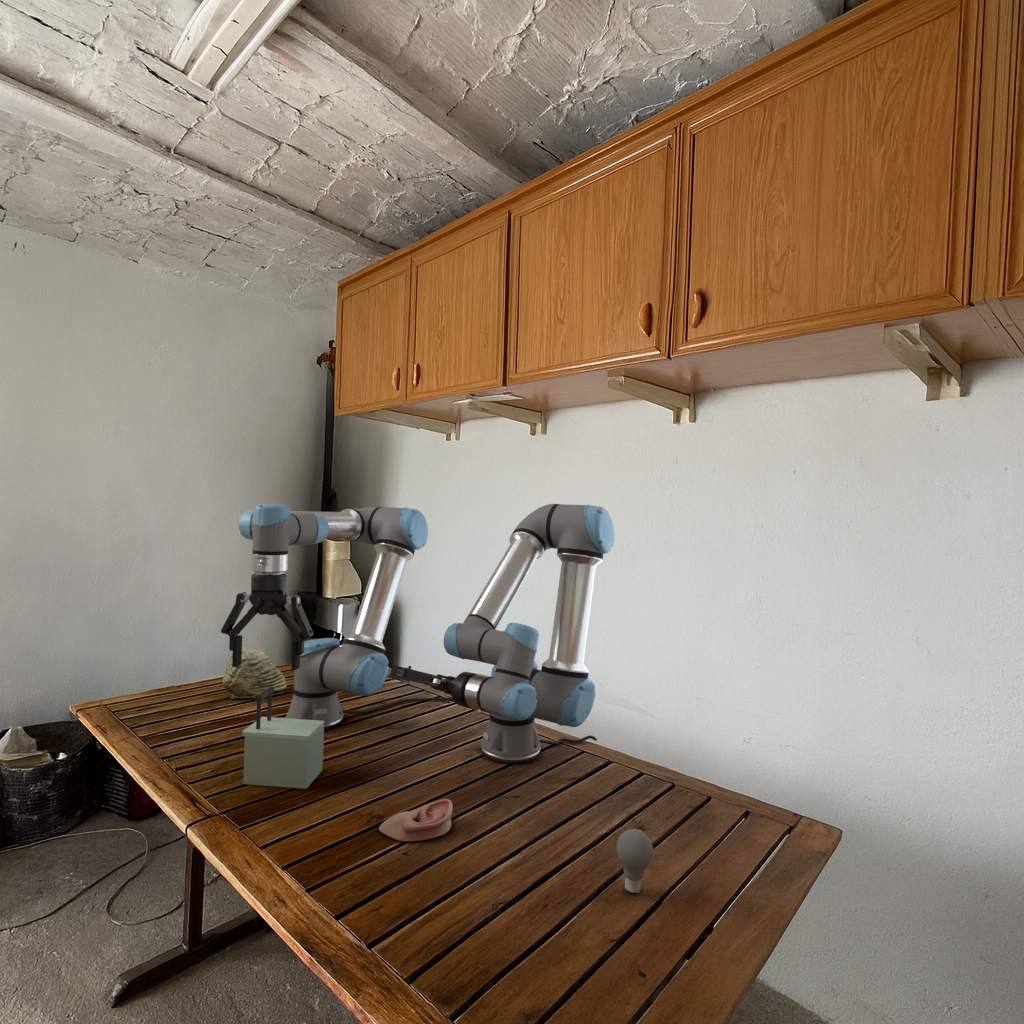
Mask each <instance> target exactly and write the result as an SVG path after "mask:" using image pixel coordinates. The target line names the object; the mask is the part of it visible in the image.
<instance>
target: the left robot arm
mask: <svg viewBox="0 0 1024 1024" xmlns="http://www.w3.org/2000/svg"><path fill="white" fill-rule="evenodd" d="M238 530H239V533H240V535H241V536H242V537H243V538H245V539H246V540H250V541H252V554H251V557H252V558H251V571H252V572H253V573H252V574H251V575H250V576H251V577H250V580H251V581H250V590H251V592H250V593H247V592H246V591H242V592H240V593H239V592H238V593H237V594H236V597H235V603H234V605H233V607H232V609H231V610H230V612H229V614H228V616H227V618H226V620H225V622H224V624H223V626H222V627H221V629H220V633H221V634H223V635H228V638H229V644H228V649H229V651H230V652H232V653H233V656H232V667H236V666H238V665H240V664H241V660H242V647H243V635H242V634H241V632H242V631H243V630H244V629H245V628H246V626H247V625H248V624H249V623H250V622H251V621H252V620H253V619H254V618H255V617H256V615H257V614H259V615H263V616H264V615H267V616H275V615H276V617H278V618H279V619H280V620H281V622H282V623H283V624H284V625H285V627H286V628H287V629H288V631H289V632H290V633H291V635H292V636H293V637H294V640H292V644H291V645H292V647H291V669H290V670H291V671H292V672H293V695H292V696H293V697H292V699H291V702H290V704H289V708H288V711H287V713H286V715H285V718H289V719H304V720H319V721H324V732H325V731H329V730H332V729H335V728H337V727H339V726H340V725H342V723H343V722H344V714H366V713H371V712H375V711H378V710H380V709H383V708H384V709H385V708H388V707H390V706H393V705H397V704H400V703H401V704H402V703H407V702H427V701H429V702H430V701H454V700H453V698H452V696H450V697H413V698H403V699H398V700H394V701H391V702H388V703H385V704H384V703H383V704H380V705H378V706H375V707H371V708H367V709H359V710H357V709H356V710H355V709H346V710H345V709H342V706H341V702H340V699H339V695H338V692H340V693H344V694H349V695H352V696H355V697H358V696H359V697H360V696H361V697H370V696H372V695H374V694H376V692H378V691H379V690H380V689H381V688H382V687H383V685H384V684H385V682H386V679H387V677H388V674H389V669H390V667H389V659H388V657H387V656H386V655H385V653H386V647H385V645H384V644H383V640H384V636H385V633H386V630H387V628H388V624H389V621H390V617H391V614H392V611H393V607H394V604H395V601H396V597H397V593H398V591H399V588H400V584H401V580H402V577H403V574H404V572H405V571H404V570H405V567H406V564H407V562H408V561H410V560H413V559H414V556H415V552H416V551H418V550H421V549H423V548H424V547H425V545H426V544H427V541H428V537H429V527H428V523H427V519H426V517H425V516H424V514H423V513H422V511H420V510H418V509H415V508H409V507H392V506H391V507H390V506H389V507H388V506H386V507H385V506H368V507H360V508H359V507H358V508H345V509H343V510H341V511H313V510H312V511H310V510H309V511H305V510H297V511H296V510H290V506H289V505H288V504H279V503H278V504H277V503H259V504H256V505H255V506H254V509H249V510H246V511H245V512H243V513H242V515H241V516H240V518H239V520H238ZM335 539H336V540H337V539H340V540H342V541H343V542H346V543H347V542H348V543H351V542H354V543H361V544H366V545H372V546H373V547H374V549H375V551H376V557H375V560H374V563H373V566H372V569H371V572H370V576H369V578H368V581H367V585H366V588H365V591H364V593H363V596H362V600H361V603H360V606H359V608H358V609H359V610H358V612H357V615H356V619H355V621H354V625H353V628H352V632H351V634H349V635H348V636H346V637H344V638H343V641H342V643H340V640H339V639H338V638H335V637H322V638H313V639H310V638H311V637H313V636H314V630H313V629H312V626H311V624H310V622H309V619H308V617H307V615H306V613H305V610H304V608H303V606H302V601H301V600H302V599H301V595H299V594H296V595H292V596H291V595H289V596H288V595H287V588H288V575H287V572H288V568H289V567H288V564H289V546H296V545H297V546H298V545H299V546H301V545H310V546H311V545H312V546H313V545H315V544H320V543H323V542H324V541H325V540H335ZM248 602H250V604H251V607H250V608H249V609H248V610H247V611H246V614H244V615H243V616H242V618H241V619H240V620H239V621H238V618H239V617H240V616H241V613H242V611H243V609H244V608H245V606H246V604H247V603H248ZM286 604H288V605H289V606H290V607H291V610H292V612H293V615H294V617H295V619H294V618H293V617H292V615H291V614H290V612H289V611H290V610H289V609H288V608H287V607H286ZM237 621H238V622H237ZM296 621H297V622H296ZM236 622H237V623H236ZM307 639H308V640H307ZM340 644H341V646H340Z"/></svg>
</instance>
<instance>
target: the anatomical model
mask: <svg viewBox="0 0 1024 1024" xmlns="http://www.w3.org/2000/svg"><path fill="white" fill-rule="evenodd" d="M453 807H454V806H453V802H452V801H451V800H450V799H449V798H443V799H439V800H434V801H432V802H429V803H426V804H424V805H422V806H419V807H417V808H415V809H412V810H409V811H407V810H406V811H401V812H399V813H396V814H394V815H392V816H390V817H388V818H387V819H386V820H385V821H383V822H382V823H381V824H380V825H379V827H378V830H379V832H380V833H382V834H383V835H385V836H387V837H388V838H391V839H394V840H396V841H399V842H417V841H425V840H431V839H434V838H438V837H440V836H443V835H446V834H447V833H448V832H449V831H450V829H451V828H452V818H451V817H452V814H453Z"/></svg>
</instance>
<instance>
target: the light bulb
mask: <svg viewBox="0 0 1024 1024" xmlns="http://www.w3.org/2000/svg"><path fill="white" fill-rule="evenodd" d="M615 849H616V854H617V857H618V859H619V861H620V863H621V865H622V867H623V873H624V874H623V875H624V876H625V878H624V888H625V890H627V891H628V892H630V893H634V894H635V893H639V892H640V891H641V889H642V887H641V886H642V879H643V877H644V875H645V871H646V868H647V867H648V866H649V864H650V863H651V861H652V859H653V855H654V847H653V843H652V841H651V838H649V836H648V835H647V834H646V833H645V832H643V831H642V830H641V829H636V828H629V829H627V830H625V831H623V832H622V833H621V834H620V835H619V837H618V839H617V841H616V847H615Z"/></svg>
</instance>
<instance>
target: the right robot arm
mask: <svg viewBox="0 0 1024 1024" xmlns="http://www.w3.org/2000/svg"><path fill="white" fill-rule="evenodd" d="M508 540H509V546H508V547H507V549H506V550H505V552H504V554H503V555H502V557H501V559H500V561H499V562H498V564H497V566H496V567H495V569H494V571H493V572H492V574H491V576H490V577H489V579H488V581H487V583H486V584H485V586H484V587H483V589H482V591H481V593H480V594H479V596H478V597H477V599H476V601H475V602H474V604H473V606H472V608H471V610H469V613H468V614H467V616H466V617H465V619H464V621H463V622H462V623H461V622H455V623H452V624H451V625H449V626H448V627H447V628H446V630H445V632H444V635H443V648H444V650H445V652H446V653H447V654H448V655H450V656H452V657H455V658H459V659H461V660H469V661H474V662H480V663H483V664H488V665H493V666H492V668H491V672H490V673H491V674H490V675H487V674H481V673H477V672H476V673H474V672H471V671H463V672H460V673H458V675H456V676H452V675H447V676H446V675H443V674H437V675H435V674H432V673H428V672H423V671H419V670H416V669H412V666H411V665H408V666H407V667H405V666H404V667H403V666H398V665H395V664H394V665H392V667H391V670H390V674H389V677H390V678H394V679H398V680H402V681H405V682H414V683H418V684H421V685H425V686H429V687H430V689H434V690H435V691H440V692H443V693H444V694H446V695H449V696H450V697H452V698H453V700H452V701H453V702H454V703H455V704H456V705H457V706H460V707H464V708H467V709H473V710H476V713H477V714H479V715H481V714H482V713H483V712H484V713H488V715H489V716H488V717H489V718H488V722H487V725H486V728H485V730H484V733H483V737H482V739H481V742H480V753H481V755H482V756H483V757H485V758H486V759H488V760H490V761H494V762H496V763H502V764H511V765H513V764H514V765H515V764H524V763H529V762H533V761H535V760H537V759H538V758H539V757H540V756H541V744H547V745H551V746H558V745H559V744H560V743H561V742H567V743H571V744H581V743H583V742H585V741H587V740H589V739H591V740H593V741H595V742H596V741H598V738H597V737H595V736H594V735H585V736H584V737H582V738H580V739H579V738H578V739H572V738H571V739H570V738H566V737H561V738H559V739H558V740H557V741H551V740H546V739H539V734H538V731H537V726H536V724H535V723H536V721H535V719H537V720H540V721H545V722H547V723H548V722H550V723H552V724H556V725H558V726H560V727H563V726H564V727H569V728H577V727H579V726H581V725H583V723H585V722H586V720H587V719H588V717H589V715H590V714H591V712H592V709H593V706H594V703H595V699H596V689H595V688H596V685H595V682H594V681H592V680H591V679H590V678H589V673H590V670H589V669H588V668H587V667H586V665H585V655H586V646H587V639H588V631H589V624H590V616H591V607H592V601H593V600H592V599H593V593H594V592H593V591H594V585H595V584H594V583H595V576H596V569H597V566H599V565H600V564H601V563H603V561H604V555H606V554H609V553H610V552H611V551H612V550H613V546H614V544H615V527H614V522H613V518H612V516H611V514H610V512H609V511H608V510H607V508H605V507H603V506H600V505H599V506H598V505H591V504H566V503H565V504H563V503H548V504H545V505H542V506H540V507H538V508H536V509H535V510H533V511H532V512H530V513H529V514H527V515H526V516H525V517H524V518H523V519H522V520H521V521H520V522H519V523H518V524H517V526H516V527H515V528H514V529H513V531H512V533H511V535H510V536H509V539H508ZM550 549H554V550H555V549H556V556H557V557H558V559H559V560H560V563H561V564H560V573H559V581H558V587H557V596H556V603H555V609H554V618H553V624H552V625H553V626H552V633H551V639H550V647H549V654H548V655H549V656H548V658H547V659H546V660H545V661H543V662H542V663H541V669H538V667H539V666H538V662H537V661H535V658H536V655H537V652H538V644H539V643H538V642H539V638H540V633H539V630H537V629H536V628H535V627H532V626H530V625H527V624H523V623H519V622H509V623H508V624H506V627H505V629H504V630H498V628H499V626H500V624H501V622H502V621H503V619H504V617H505V615H506V614H507V612H508V610H509V608H510V606H511V605H512V603H513V601H514V599H515V597H516V596H517V594H518V592H519V590H520V588H521V586H522V585H523V583H524V581H525V580H526V578H527V576H528V574H529V573H530V570H531V569H532V567H533V565H534V563H535V562H536V560H538V559H540V558H542V557H543V555H544V554H545V552H546V551H547V550H550Z"/></svg>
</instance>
